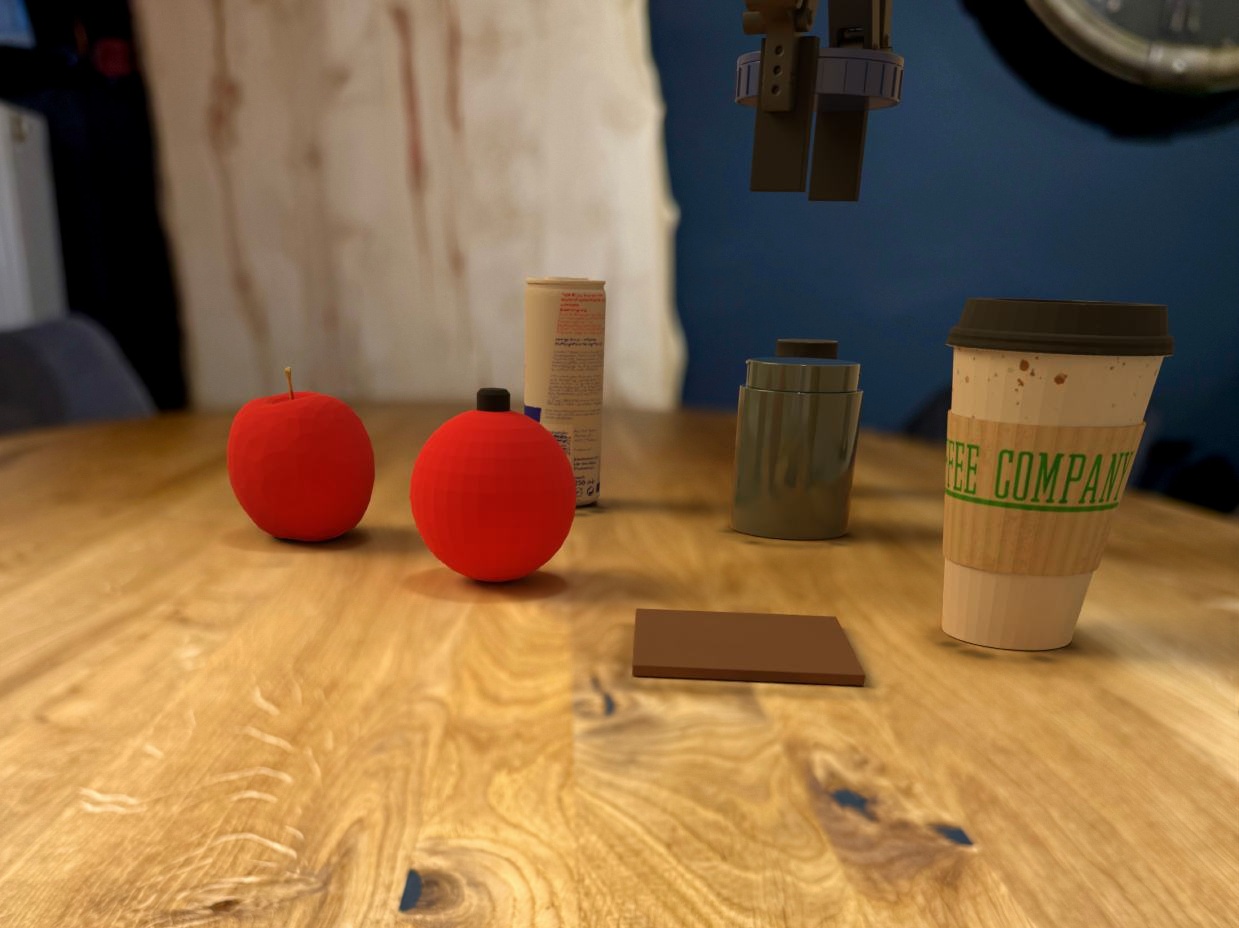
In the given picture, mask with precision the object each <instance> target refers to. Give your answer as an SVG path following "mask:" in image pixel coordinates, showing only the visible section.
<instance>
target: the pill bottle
mask: <svg viewBox="0 0 1239 928" xmlns="http://www.w3.org/2000/svg"><path fill="white" fill-rule="evenodd" d="M775 344H776V345H775V346H776V347H775V353H774V355H775V357H799V358H821V359H835V360H838V351H839V341H837V340H830V339H812V338H811V339H809V338H779V339H777V340H776V343H775Z"/></svg>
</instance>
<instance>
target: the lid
mask: <svg viewBox="0 0 1239 928" xmlns="http://www.w3.org/2000/svg"><path fill="white" fill-rule="evenodd" d="M760 53H761V50H758V51H753V52H748V53H744V54H742V55H740V56H739V57H738V59H737V66H736V67H737V69H735V73H734V85H733V86H734V87H733V100H734V102H735V103H736V104H737V105H739V106H743V107H745V108H751V109H756V104H757V91H758V78H759V66H760ZM904 67H905V59H904V57H902V56H900V55H898V54H895V53H893V52H892V53H888V52H882V51H876V50H867V49H855V48H833V47H829V46H827V47H826V46H825V47H824V46H819V56H818V67H817V77H816V87H815V98H814V108H813V113H816V112H850V111H867V110H869V111H877V110H884V109H889V108H893V107H896V106H897V105H899V104H900V103H901V101H902V94H903V93H902V92H903V84H904V78H905V77H904V76H905V70H904Z"/></svg>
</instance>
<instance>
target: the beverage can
mask: <svg viewBox="0 0 1239 928" xmlns="http://www.w3.org/2000/svg"><path fill="white" fill-rule="evenodd" d="M525 283H527V284H526V288H525V291H524V379H523V380H524V385H523V386H524V388H523V389H524V391H523V392H524V393H523V394H524V397H523V398H524V399H523V401H524V402H523V403H524V404H523V405H524V406H523V414H524V415H526V416H528V417H530V418H532V419H533V420H535V421H537V422H538V423H540V424H541V425H542V426H543V427H544V428H546V429H547V430H548V431H549V432H550V433H551V434H552V435H553V436H554V437H555V438H556V440H557V441H558V442H559V444H560V445H561V446H562V448H563V449H564V451H565V453H566V455H567V457H568V459H569V461H570V463H571V466H572V470H573V474H574V477H575V482H576V497H577V498H576V507H583V506H587V505H589V504H591V503H594V502H596V501H597V500H599V498H600V496H601V493H600V491H601V489H600V488H601V464H602V463H601V459H602V432H603V431H602V429H603V402H604V401H603V400H604V374H605V373H604V371H605V369H604V368H605V345H606V344H605V341H606V314H607V313H606V312H607V311H606V309H607V293H606V290H605V286H606V280H604V279H589V278H588V277H569V276H545V277H526V278H525Z"/></svg>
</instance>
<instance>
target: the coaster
mask: <svg viewBox="0 0 1239 928" xmlns="http://www.w3.org/2000/svg"><path fill="white" fill-rule="evenodd" d="M631 668H632V669H631V676H634V677H635V676H637V677H657V678H658V677H659V678H681V679H701V680H702V679H703V680H704V679H706V680H726V681H727V680H728V681H748V682H750V681H751V682H773V683H774V682H775V683H794V684H795V683H796V684H798V683H799V684H817V685H840V686H841V685H843V686H862V687H863V686H864V685H865V682H866V674H865V672H864V670H863V668H862V666H861V664H860V662H859V659H858V658H857V655H856V654H855V652H854V650H853V648H852V646H851V644H850V642H849V639H848V638H847V636H846V634H845V632H844V630H843V628H842V626H841V623H840V622H839V620H838V618H837V616H834V615H833V616H831V615H812V614H811V615H809V614H808V615H806V614H788V613H787V614H786V613H785V614H784V613H763V612H762V613H757V612H737V611H736V612H735V611H714V610H712V611H711V610H685V609H662V608H642V607H641V608H640V607H638V608H635V620H634V637H633V651H632V666H631Z"/></svg>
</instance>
